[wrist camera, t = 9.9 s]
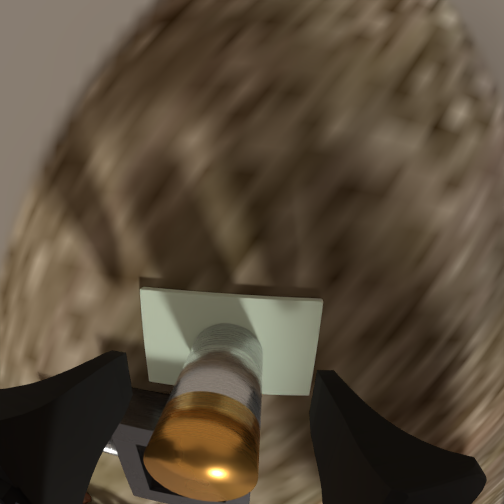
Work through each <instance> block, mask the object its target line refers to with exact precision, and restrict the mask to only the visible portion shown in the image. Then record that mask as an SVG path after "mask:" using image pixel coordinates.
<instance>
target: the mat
mask: <svg viewBox="0 0 504 504" xmlns="http://www.w3.org/2000/svg"><path fill="white" fill-rule="evenodd" d="M140 299H141V312H142V324H143V335H144V344H145V353H146V361H147V369H148V377H149V381H150V382H156V383H162V384H169V385H175V383H176V381H177V379H178V377H179V374H180V372H181V370H182V368H183V366H184V364H185V361H186V359H187V357H188V355H189V353H190V351H191V348H192V346H193V344H194V342H195V340H196V338H197V336H198V335H199V334H200V333H201V332H202V331H203V330H204V329H206V328H208V327H209V326H212V325H215V324H220V323H230V324H235V325H239V326H242V327H244V328H246V329H247V330H249V331H250V332H251V333H253V334H254V335H255V336H256V338H257V339H258V340H259V342H260V344H261V347H262V350H263V372H262V394H270V395H309V393H310V387H311V381H312V375H313V369H314V363H315V357H316V350H317V344H318V337H319V330H320V323H321V315H322V307H323V300H322V299H321V298H297V297H276V296H258V295H241V294H226V293H212V292H199V291H186V290H174V289H163V288H152V287H142V288H141V289H140Z"/></svg>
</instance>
